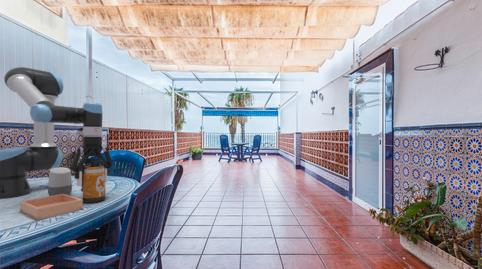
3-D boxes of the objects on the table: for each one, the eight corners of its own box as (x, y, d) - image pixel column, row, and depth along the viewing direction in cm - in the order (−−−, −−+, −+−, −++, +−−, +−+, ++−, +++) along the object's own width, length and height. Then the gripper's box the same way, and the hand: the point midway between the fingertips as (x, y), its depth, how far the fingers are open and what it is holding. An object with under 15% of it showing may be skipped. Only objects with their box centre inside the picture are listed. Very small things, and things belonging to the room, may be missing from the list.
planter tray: (19, 211, 94) (19, 201, 94) (63, 202, 107) (63, 193, 107) (36, 220, 85) (37, 209, 85) (82, 209, 98) (82, 199, 98)
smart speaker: (52, 200, 110) (52, 170, 110) (44, 197, 115) (44, 168, 115) (75, 195, 118) (75, 167, 118) (66, 193, 123) (67, 166, 123)
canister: (94, 204, 105) (95, 159, 105) (73, 202, 107) (74, 158, 107) (109, 198, 114) (110, 157, 113) (90, 197, 116) (90, 156, 116)
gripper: (68, 136, 98) (67, 189, 98) (121, 136, 118) (120, 180, 118) (60, 136, 102) (59, 187, 102) (112, 135, 122) (112, 178, 122)
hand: (92, 183), depth 110 cm, fingers open, 10 cm apart
